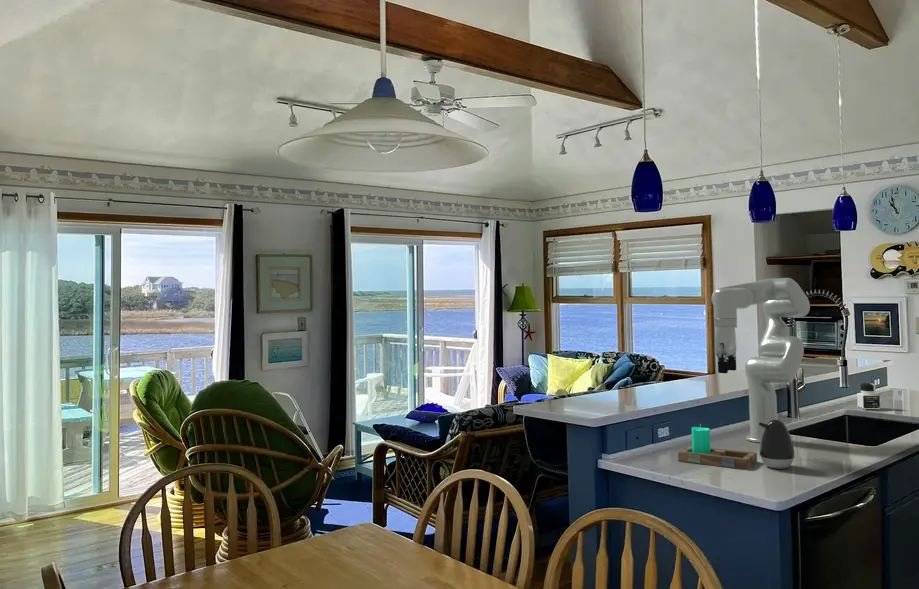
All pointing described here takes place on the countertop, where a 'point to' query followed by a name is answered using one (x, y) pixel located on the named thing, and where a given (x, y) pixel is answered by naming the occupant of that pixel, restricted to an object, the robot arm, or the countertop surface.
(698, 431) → the candle
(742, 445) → the countertop surface
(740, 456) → the socket block
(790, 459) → the pump dispenser
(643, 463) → the countertop surface
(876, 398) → the medicine bottle
